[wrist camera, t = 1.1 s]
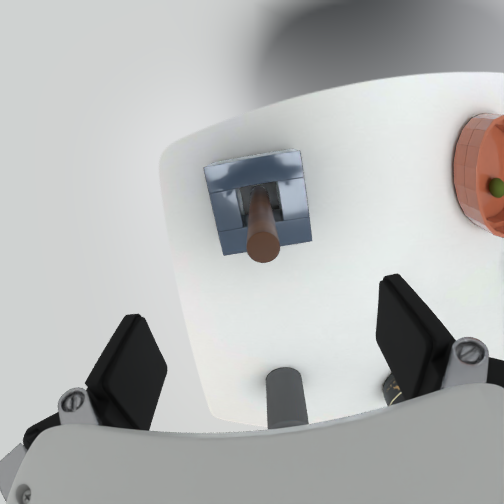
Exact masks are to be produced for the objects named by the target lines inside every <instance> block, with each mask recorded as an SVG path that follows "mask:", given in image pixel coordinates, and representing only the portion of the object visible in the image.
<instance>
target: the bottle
mask: <svg viewBox="0 0 504 504" xmlns="http://www.w3.org/2000/svg"><path fill="white" fill-rule="evenodd" d="M266 394H267V421H268V430H269V429H278V428H286V427H294V426H300V425H307V424H309V423H308V416H307V409H306V403H305V397H304V390H303V385H302V379H301V375H300V373H299V372H298V371H297V370H295V369H292V368H279V369H276V370H274V371H272V372H271V373H269V375H268V376H267V378H266Z"/></svg>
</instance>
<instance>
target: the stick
mask: <svg viewBox="0 0 504 504" xmlns="http://www.w3.org/2000/svg"><path fill="white" fill-rule="evenodd" d="M246 248H247V253H248V255H249V256H250V257H251V258H252V259H253V260H255V261H257V262H260V263H266V262H270V261H272V260H273V259H275V258H276V257H277V255H278V254H279V251H280V243H279V238H278V234H277V229H276V225H275V221H274V217H273V212H272V208H271V204H270V200H269V195H268V192H267V190H266V189H265V188H264V187H262V186H257V187H255V188H253V189H252V191H251V193H250V206H249V219H248V232H247V246H246Z"/></svg>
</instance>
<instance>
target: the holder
mask: <svg viewBox="0 0 504 504" xmlns="http://www.w3.org/2000/svg"><path fill="white" fill-rule="evenodd" d="M204 173H205V177H206V182H207V186H208V191H209V193H210V194H209V195H210V200H211V204H212V208H213V213H214V217H215V221H216V226H217V230H218V235H219V239H220V243H221V247H222V252H223V255H224V256H225V255H231V254H237V253H243V252H247V248H246V246H247V232H248V219H249V214H246V215H245V212H244V207H243V202H242V197H241V191H240V187H246V186H251V185H257V184H263V183H269V182H275V184H276V190H277V196H278V203H279V208H280V209H275V210H272V212H273V217H274V221H275V225H276V229H277V234H278V238H279V243H280V246H285V245H291V244H298V243H304V242H310V241H312V234H311V225H310V217H309V209H308V201H307V194H306V187H305V179H304V173H303V166H302V160H301V153H300V150H296V149H287V150H280V151H273V152H267V153H261V154H255V155H250V156H244V157H239V158H233V159H228V160H223V161H219V162H214V163H211V164H209V165H207V166H205V167H204Z"/></svg>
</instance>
